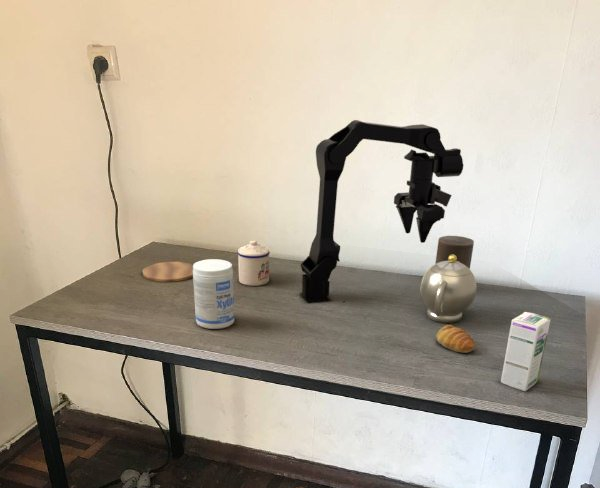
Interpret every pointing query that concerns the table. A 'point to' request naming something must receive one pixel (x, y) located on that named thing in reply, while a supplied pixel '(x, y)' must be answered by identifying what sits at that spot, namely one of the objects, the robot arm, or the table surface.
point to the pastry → (455, 339)
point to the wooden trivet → (168, 271)
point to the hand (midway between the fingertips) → (415, 237)
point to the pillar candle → (455, 249)
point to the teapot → (448, 290)
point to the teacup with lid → (253, 264)
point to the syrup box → (525, 350)
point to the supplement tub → (213, 293)
